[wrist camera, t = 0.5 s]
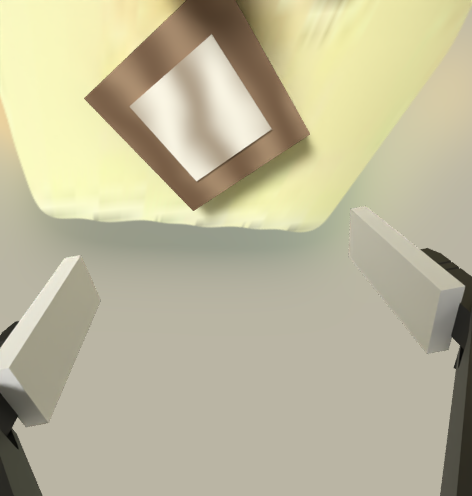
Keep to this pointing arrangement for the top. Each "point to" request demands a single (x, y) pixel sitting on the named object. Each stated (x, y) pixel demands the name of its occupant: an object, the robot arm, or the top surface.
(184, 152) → the walnut plinth
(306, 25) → the top surface
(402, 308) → the robot arm
